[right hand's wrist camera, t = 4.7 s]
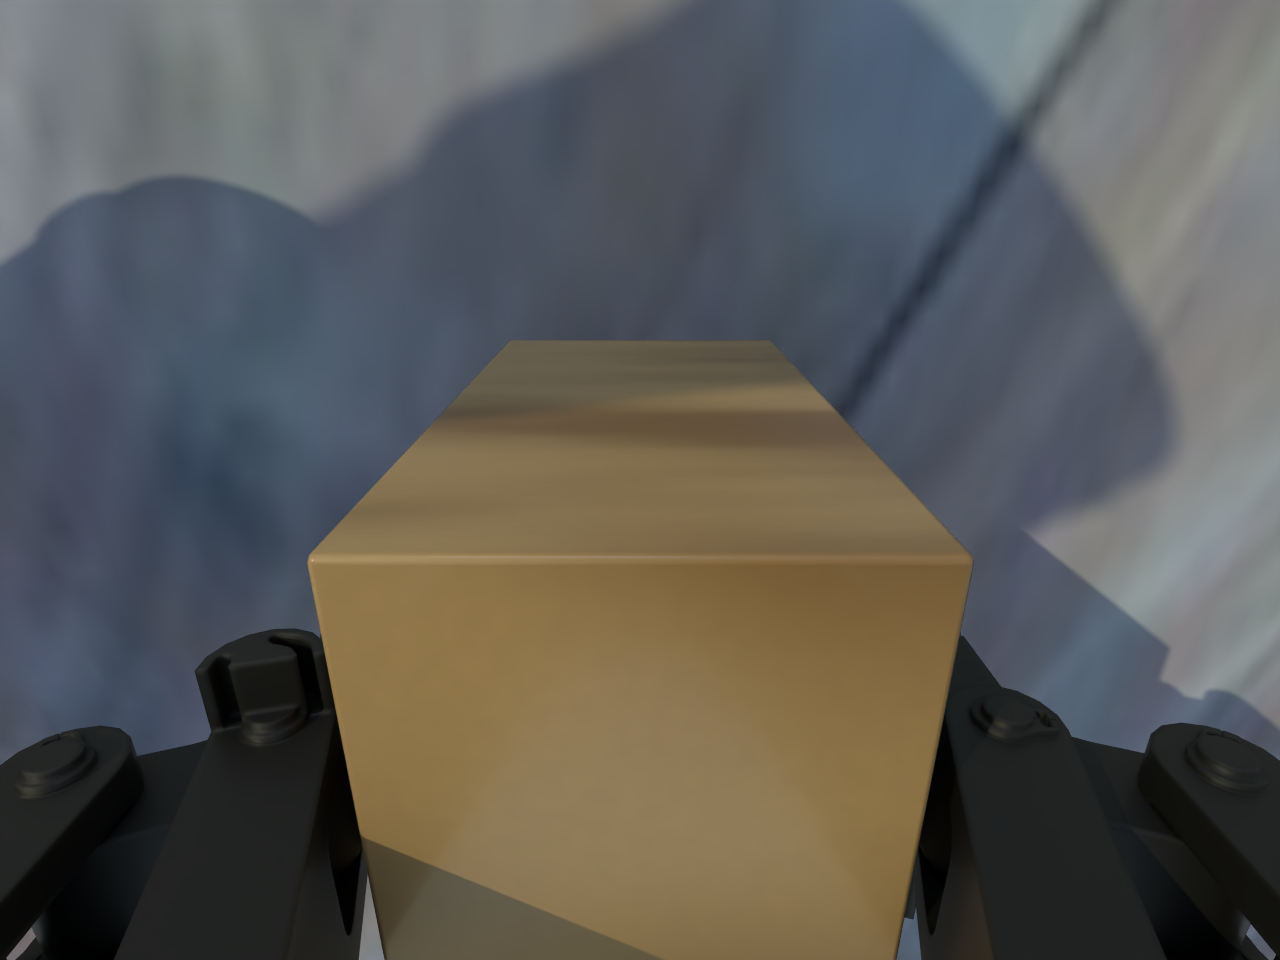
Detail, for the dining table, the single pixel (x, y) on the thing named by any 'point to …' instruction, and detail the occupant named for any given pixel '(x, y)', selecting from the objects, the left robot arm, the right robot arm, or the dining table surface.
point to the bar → (640, 664)
